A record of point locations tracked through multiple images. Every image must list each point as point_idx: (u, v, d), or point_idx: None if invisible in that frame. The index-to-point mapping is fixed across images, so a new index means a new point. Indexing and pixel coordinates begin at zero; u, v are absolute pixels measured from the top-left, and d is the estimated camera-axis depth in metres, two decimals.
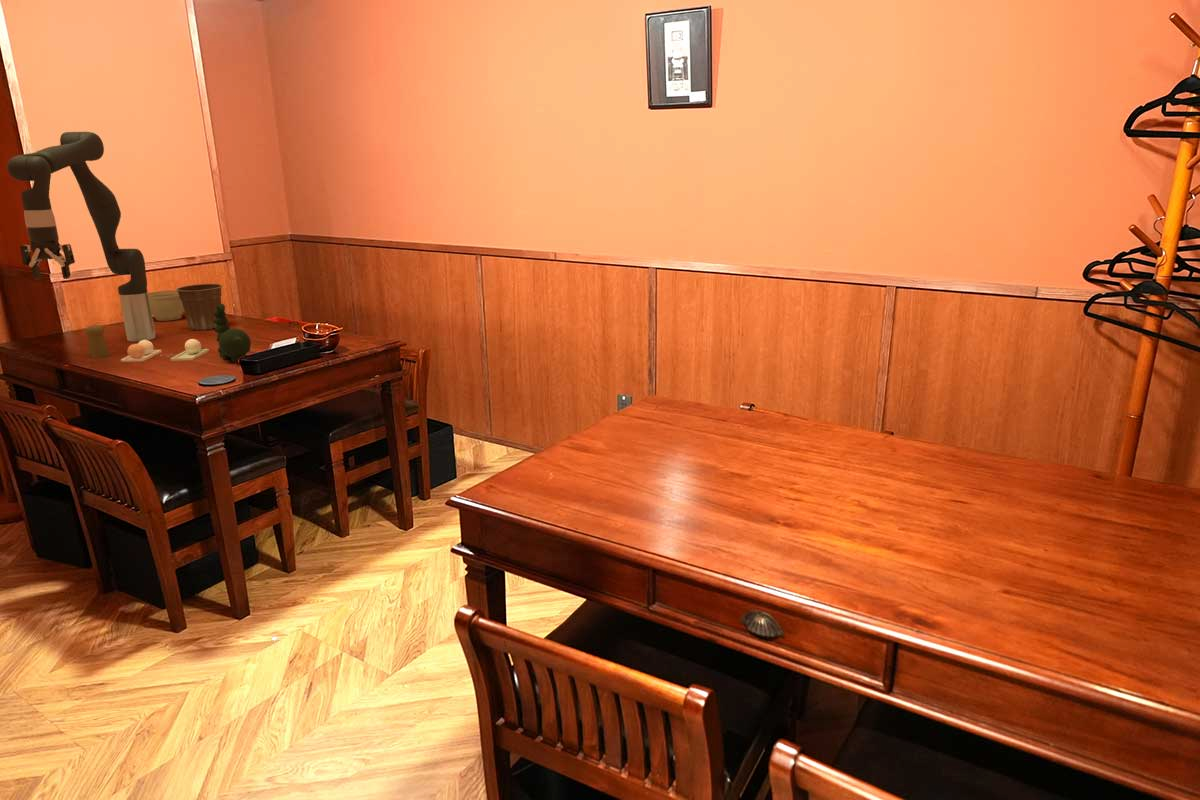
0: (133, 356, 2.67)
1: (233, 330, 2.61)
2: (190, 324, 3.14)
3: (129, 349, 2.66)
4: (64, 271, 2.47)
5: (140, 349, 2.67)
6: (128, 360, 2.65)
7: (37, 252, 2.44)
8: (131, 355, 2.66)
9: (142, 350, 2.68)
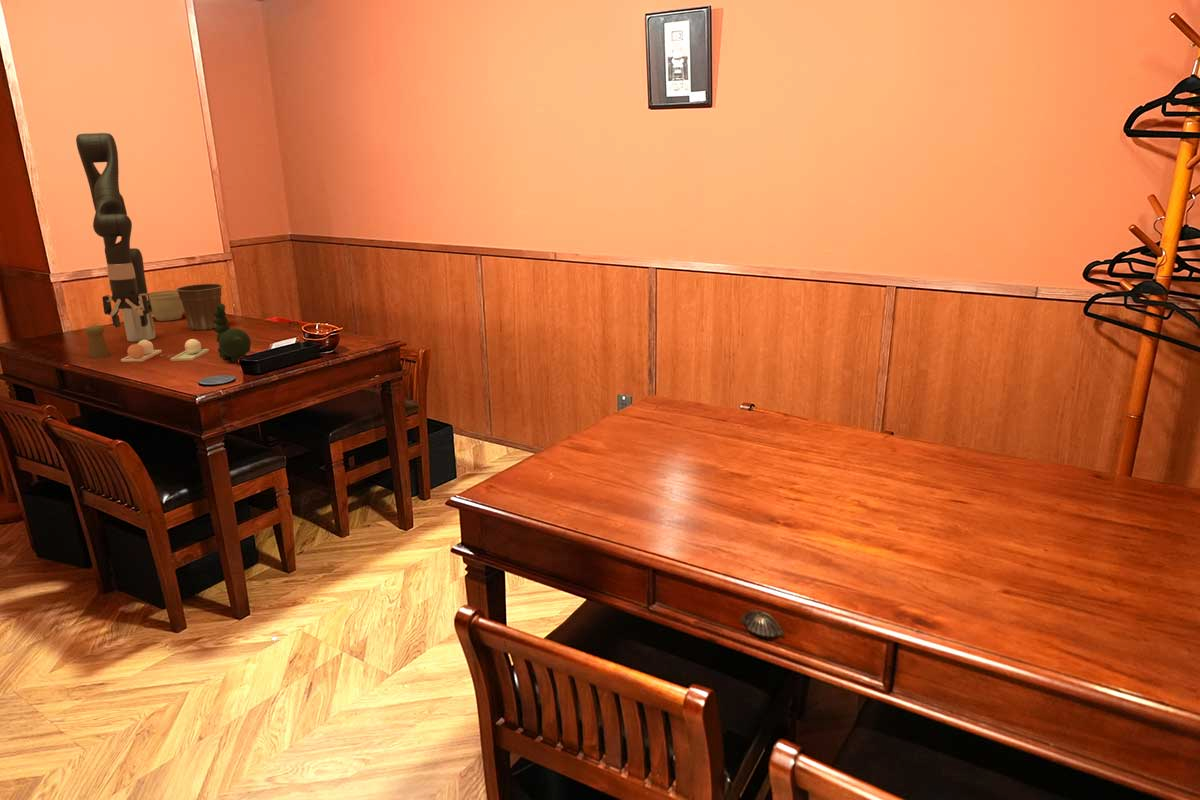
0: (133, 356, 2.67)
1: (233, 330, 2.61)
2: (190, 324, 3.14)
3: (129, 349, 2.66)
4: (142, 319, 2.64)
5: (140, 349, 2.67)
6: (128, 360, 2.65)
7: (118, 302, 2.61)
8: (131, 355, 2.66)
9: (142, 350, 2.68)
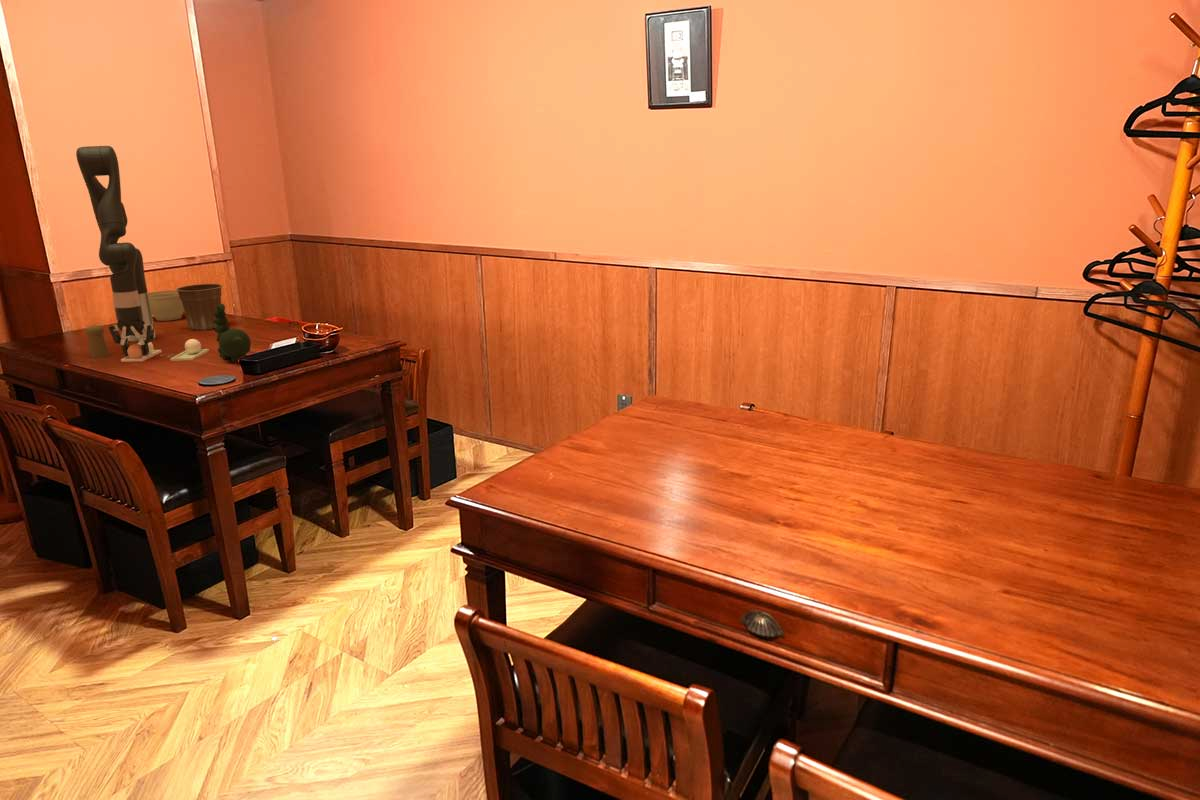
0: (133, 356, 2.67)
1: (233, 330, 2.61)
2: (190, 324, 3.14)
3: (129, 349, 2.66)
4: (144, 349, 2.67)
5: (140, 349, 2.67)
6: (128, 360, 2.65)
7: (124, 330, 2.64)
8: (131, 355, 2.66)
9: None
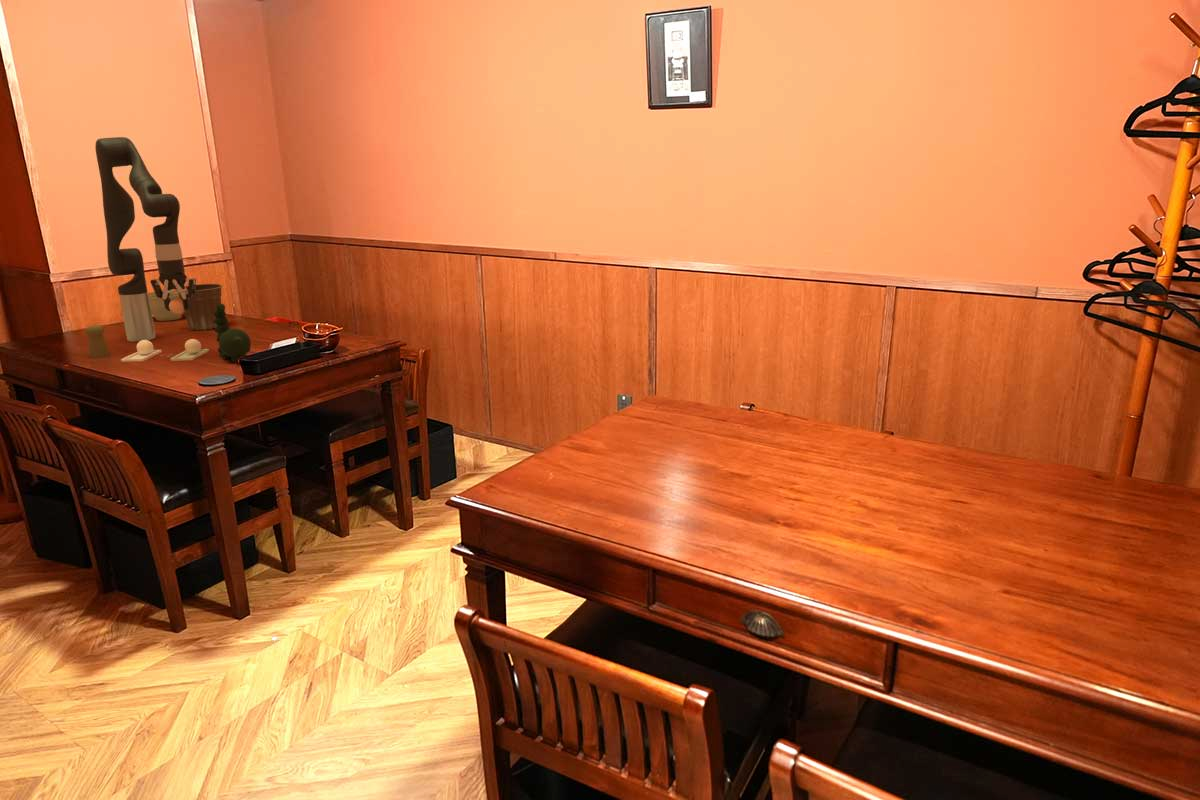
0: (175, 311, 2.63)
1: (233, 330, 2.61)
2: (190, 324, 3.14)
3: (171, 303, 2.62)
4: (185, 303, 2.63)
5: (181, 303, 2.63)
6: (128, 360, 2.65)
7: (166, 283, 2.60)
8: (173, 309, 2.62)
9: None
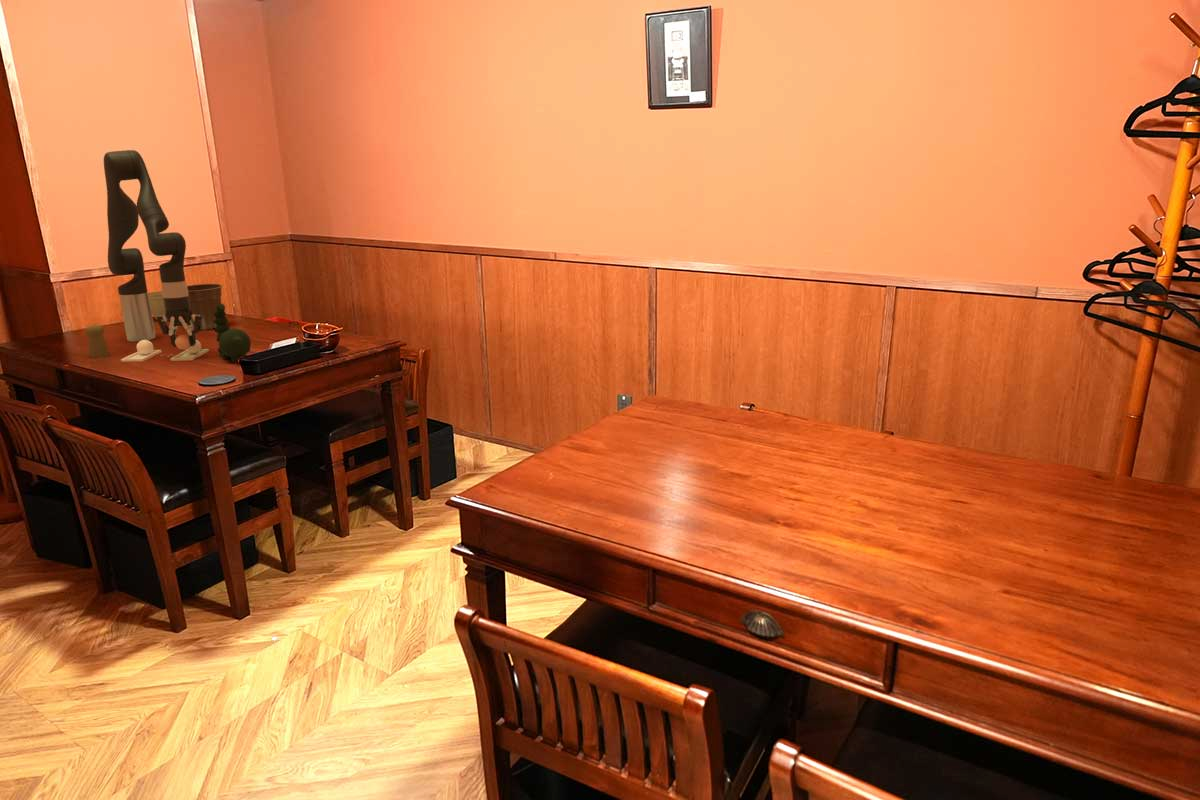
0: (181, 347, 2.66)
1: (233, 330, 2.61)
2: None
3: (177, 340, 2.66)
4: (191, 339, 2.67)
5: (187, 339, 2.67)
6: (128, 360, 2.65)
7: (173, 320, 2.64)
8: (179, 346, 2.66)
9: None
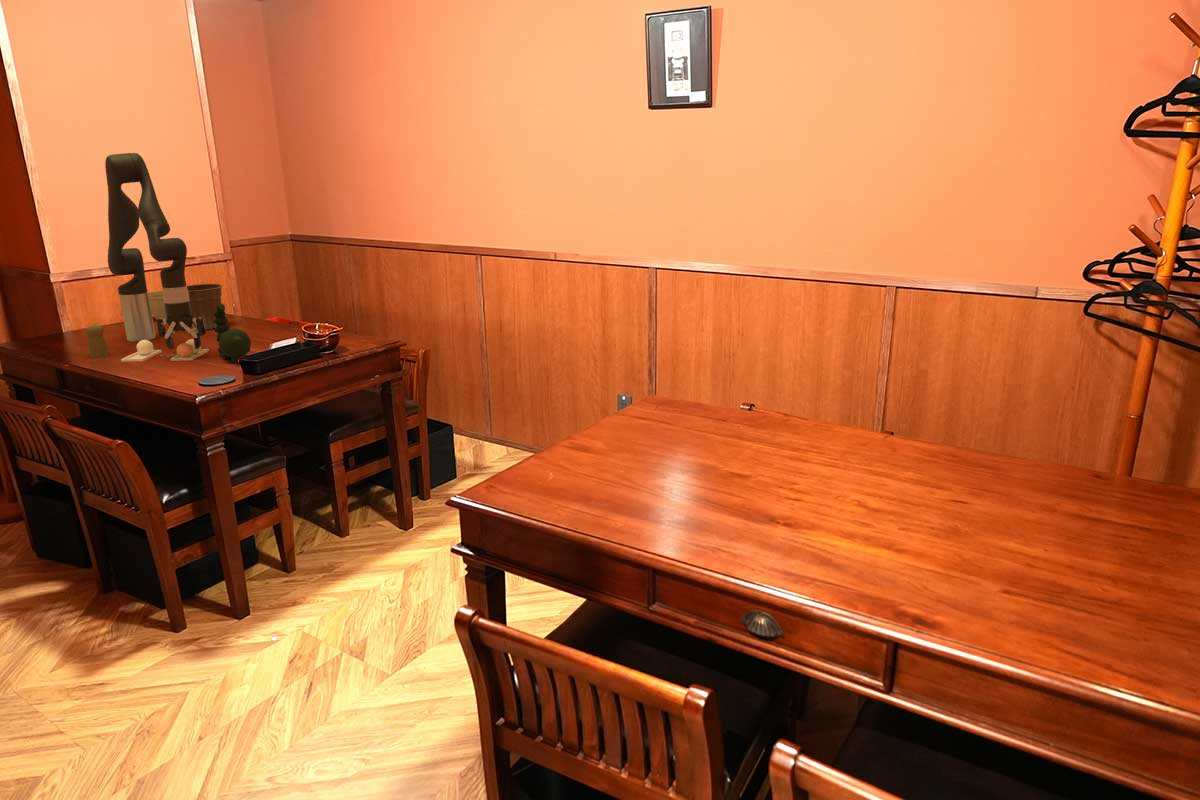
0: (182, 355, 2.67)
1: (233, 330, 2.61)
2: None
3: (178, 348, 2.67)
4: (196, 342, 2.67)
5: (189, 348, 2.68)
6: (128, 360, 2.65)
7: (173, 325, 2.64)
8: (180, 354, 2.67)
9: (191, 349, 2.68)
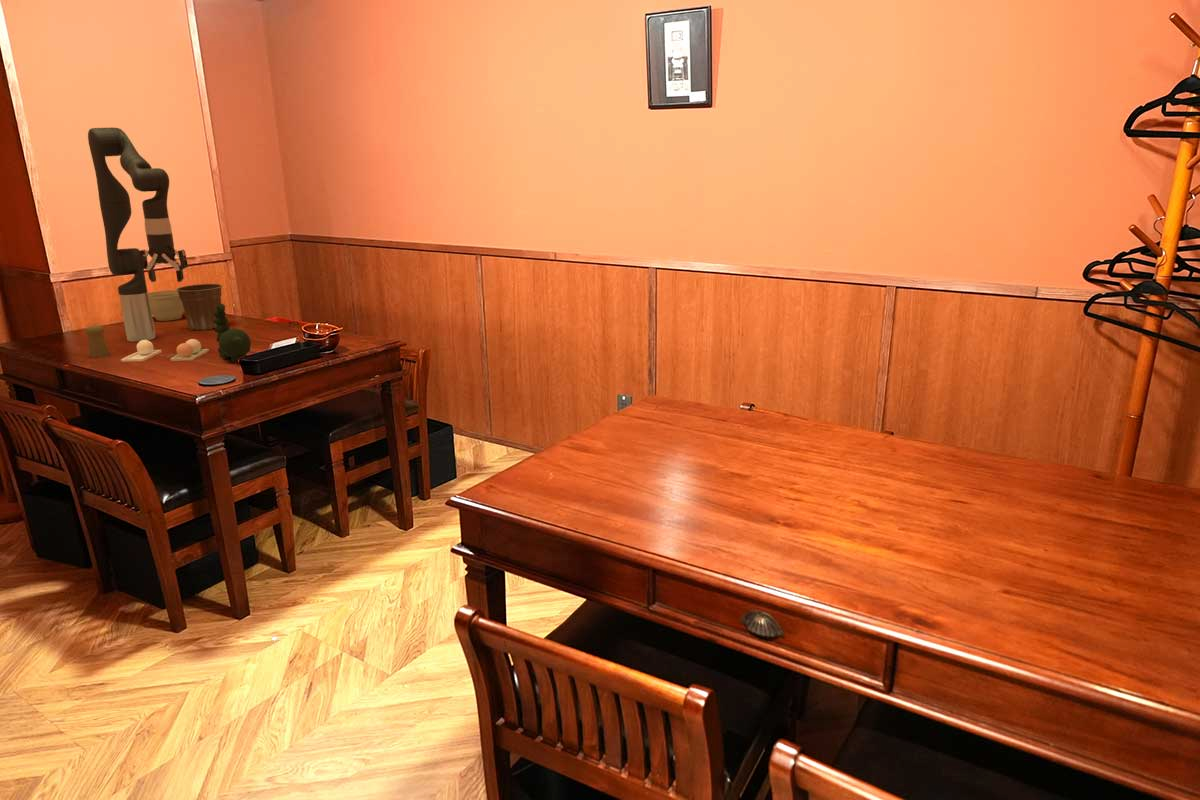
0: (182, 355, 2.67)
1: (233, 330, 2.61)
2: (190, 324, 3.14)
3: (178, 348, 2.67)
4: (178, 275, 2.67)
5: (189, 348, 2.68)
6: (128, 360, 2.65)
7: (155, 257, 2.64)
8: (180, 354, 2.67)
9: (191, 349, 2.68)
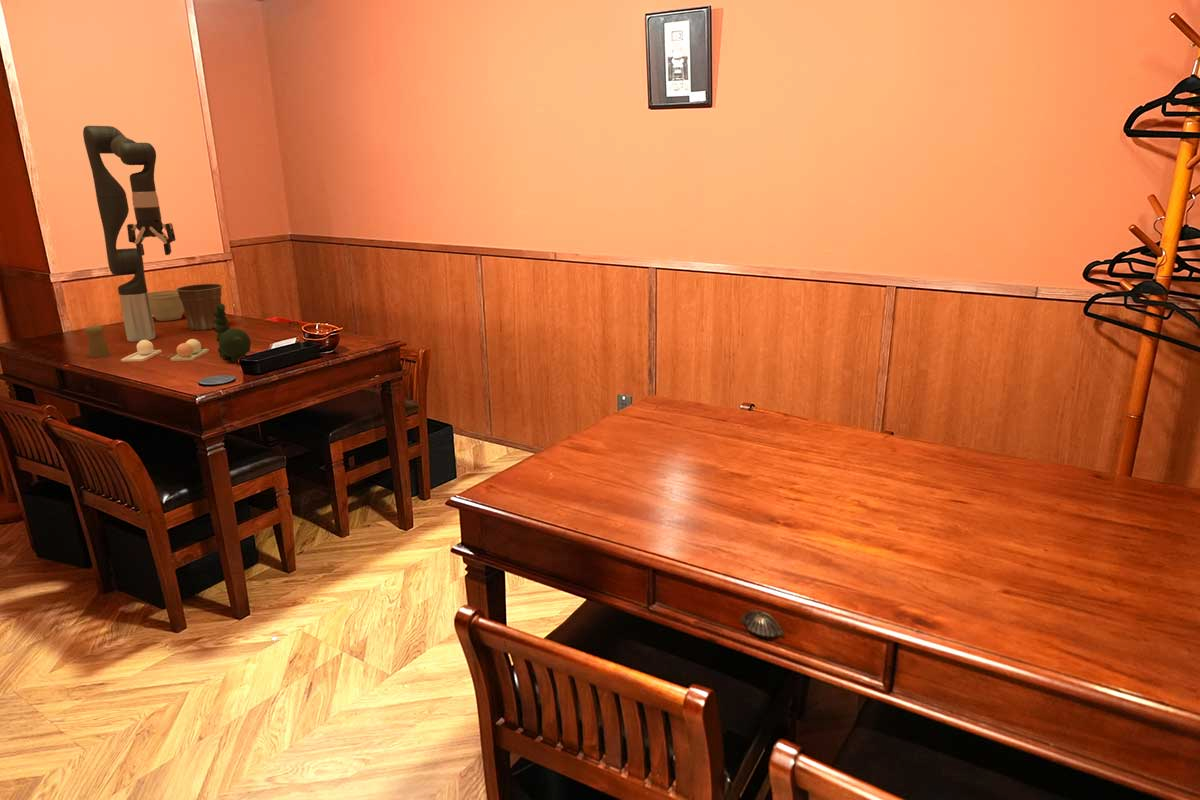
0: (182, 355, 2.67)
1: (233, 330, 2.61)
2: (190, 324, 3.14)
3: (178, 348, 2.67)
4: (166, 248, 2.71)
5: (189, 348, 2.67)
6: (128, 360, 2.65)
7: (143, 230, 2.68)
8: (180, 354, 2.67)
9: (191, 349, 2.68)
